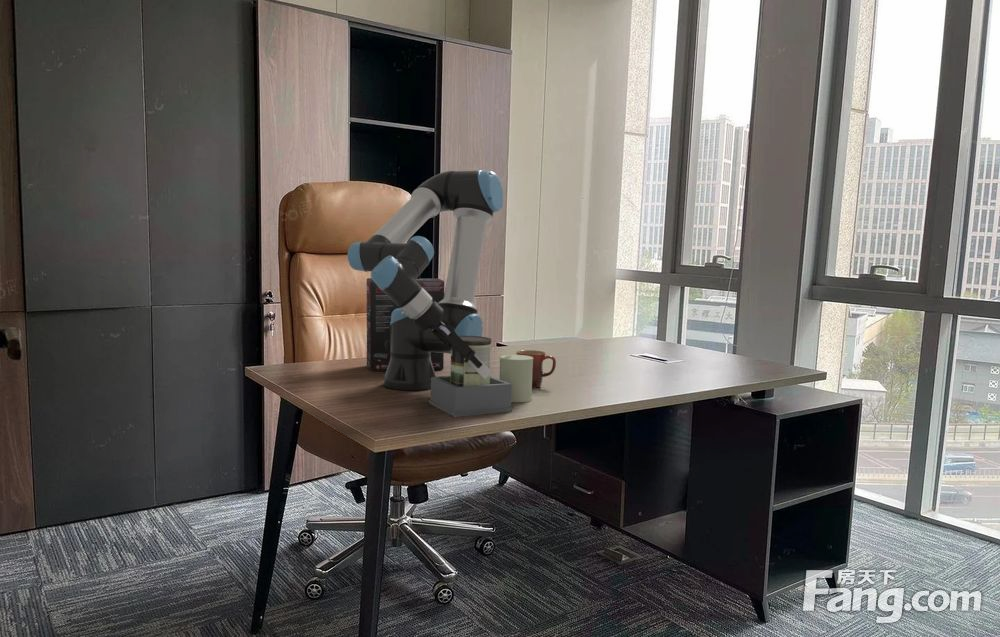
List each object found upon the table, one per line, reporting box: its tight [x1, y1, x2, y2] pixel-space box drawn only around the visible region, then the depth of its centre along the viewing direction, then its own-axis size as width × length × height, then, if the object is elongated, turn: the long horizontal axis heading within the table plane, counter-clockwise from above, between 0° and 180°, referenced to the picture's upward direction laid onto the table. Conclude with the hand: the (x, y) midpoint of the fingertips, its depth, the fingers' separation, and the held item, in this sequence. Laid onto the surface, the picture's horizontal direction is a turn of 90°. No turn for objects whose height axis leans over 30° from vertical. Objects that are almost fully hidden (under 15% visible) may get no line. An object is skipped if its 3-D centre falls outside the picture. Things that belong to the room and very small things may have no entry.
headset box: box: [366, 274, 445, 372], centre depth 241 cm, size 25×12×33 cm, turn 106°
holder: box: [428, 375, 514, 418], centre depth 187 cm, size 16×16×7 cm
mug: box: [515, 349, 557, 389], centre depth 216 cm, size 12×9×10 cm
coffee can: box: [449, 336, 492, 387], centre depth 186 cm, size 10×10×14 cm
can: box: [499, 354, 533, 403], centre depth 198 cm, size 9×9×12 cm
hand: (481, 371), depth 187 cm, fingers closed on coffee can, 10 cm apart
